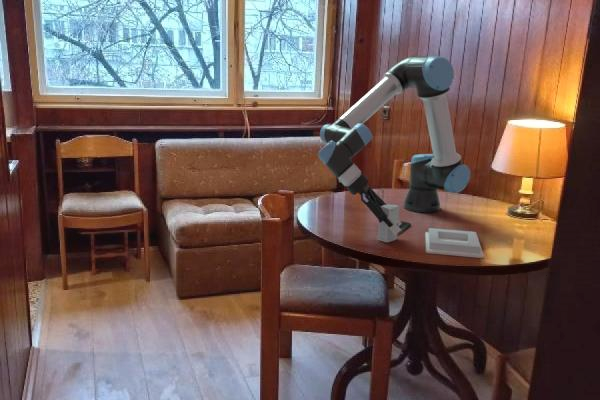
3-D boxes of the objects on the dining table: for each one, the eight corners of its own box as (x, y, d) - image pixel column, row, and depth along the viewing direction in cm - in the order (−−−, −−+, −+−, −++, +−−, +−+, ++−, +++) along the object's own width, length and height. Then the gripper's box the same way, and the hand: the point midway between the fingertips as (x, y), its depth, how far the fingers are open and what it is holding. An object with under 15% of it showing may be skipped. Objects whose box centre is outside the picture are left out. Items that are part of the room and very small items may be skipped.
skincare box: (387, 243, 182) (389, 209, 179) (376, 239, 185) (379, 206, 182) (397, 239, 186) (400, 205, 183) (387, 236, 189) (389, 203, 186)
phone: (411, 223, 203) (397, 233, 190) (411, 226, 203) (397, 236, 190) (392, 219, 207) (377, 229, 194) (392, 222, 207) (377, 232, 194)
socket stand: (425, 234, 193) (425, 226, 192) (477, 238, 189) (478, 230, 188) (426, 252, 174) (426, 244, 173) (483, 258, 170) (484, 249, 169)
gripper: (349, 180, 194) (391, 227, 195) (341, 193, 175) (388, 245, 176) (364, 167, 191) (407, 214, 192) (359, 179, 172) (406, 231, 173)
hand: (398, 229), depth 184 cm, fingers closed on skincare box, 7 cm apart
